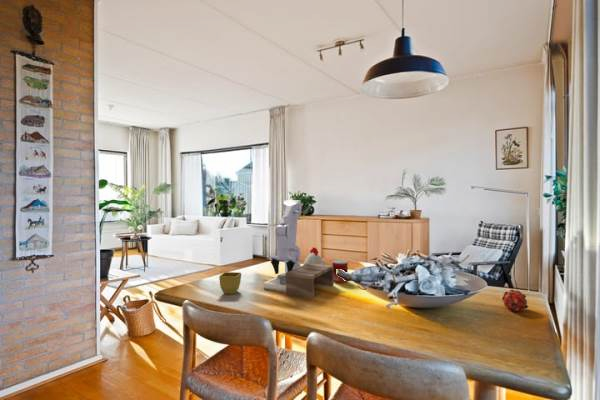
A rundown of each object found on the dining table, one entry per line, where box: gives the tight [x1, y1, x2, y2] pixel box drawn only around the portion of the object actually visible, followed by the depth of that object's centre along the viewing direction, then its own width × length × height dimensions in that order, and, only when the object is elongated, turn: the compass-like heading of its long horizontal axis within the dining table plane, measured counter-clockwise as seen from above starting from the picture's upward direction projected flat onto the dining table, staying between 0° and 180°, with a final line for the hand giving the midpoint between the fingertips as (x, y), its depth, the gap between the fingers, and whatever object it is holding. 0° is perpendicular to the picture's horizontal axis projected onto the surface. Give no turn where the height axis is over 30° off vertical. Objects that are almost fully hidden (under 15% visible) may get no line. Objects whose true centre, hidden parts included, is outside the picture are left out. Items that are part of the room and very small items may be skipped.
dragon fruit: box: [501, 289, 529, 312], centre depth 137 cm, size 8×8×12 cm
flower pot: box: [218, 271, 242, 295], centre depth 165 cm, size 9×9×9 cm
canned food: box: [332, 259, 349, 284], centre depth 183 cm, size 8×8×11 cm
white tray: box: [263, 272, 286, 293], centre depth 175 cm, size 16×13×6 cm
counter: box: [285, 263, 335, 300], centre depth 168 cm, size 24×14×10 cm, turn 151°
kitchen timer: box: [302, 247, 326, 266], centre depth 204 cm, size 14×14×15 cm
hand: (283, 274), depth 175 cm, fingers open, 7 cm apart
